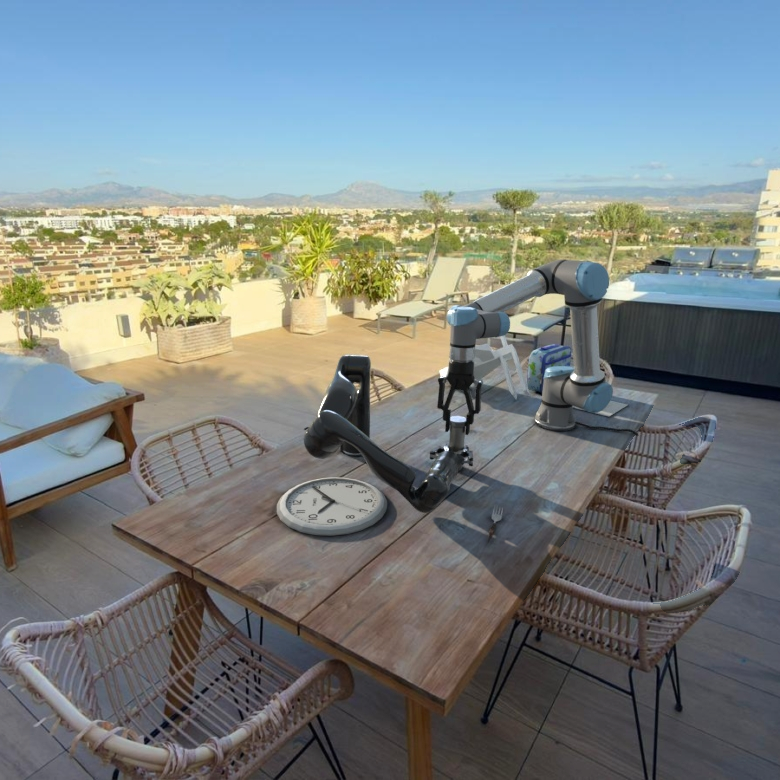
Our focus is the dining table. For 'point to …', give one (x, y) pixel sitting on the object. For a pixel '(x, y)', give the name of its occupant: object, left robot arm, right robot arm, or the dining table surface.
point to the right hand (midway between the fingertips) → (457, 431)
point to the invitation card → (610, 408)
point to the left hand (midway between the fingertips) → (458, 446)
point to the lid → (457, 421)
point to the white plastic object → (495, 364)
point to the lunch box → (545, 363)
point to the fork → (494, 518)
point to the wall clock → (331, 506)
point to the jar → (456, 439)
